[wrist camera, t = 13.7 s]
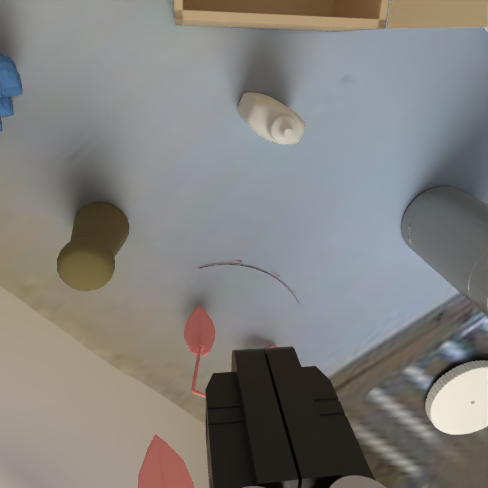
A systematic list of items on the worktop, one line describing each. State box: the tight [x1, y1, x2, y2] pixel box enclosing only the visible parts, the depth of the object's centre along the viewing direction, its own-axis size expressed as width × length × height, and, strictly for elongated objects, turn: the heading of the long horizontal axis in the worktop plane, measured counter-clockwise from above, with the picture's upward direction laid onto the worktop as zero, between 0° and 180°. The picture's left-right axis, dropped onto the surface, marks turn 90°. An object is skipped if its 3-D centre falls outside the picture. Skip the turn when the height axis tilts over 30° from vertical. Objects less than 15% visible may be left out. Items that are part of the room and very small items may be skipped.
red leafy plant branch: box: [138, 261, 290, 488], centre depth 42 cm, size 15×26×35 cm, turn 50°
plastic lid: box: [425, 360, 488, 435], centre depth 68 cm, size 14×14×2 cm
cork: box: [57, 202, 129, 291], centre depth 44 cm, size 6×6×11 cm
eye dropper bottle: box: [237, 92, 305, 145], centre depth 41 cm, size 4×6×12 cm
